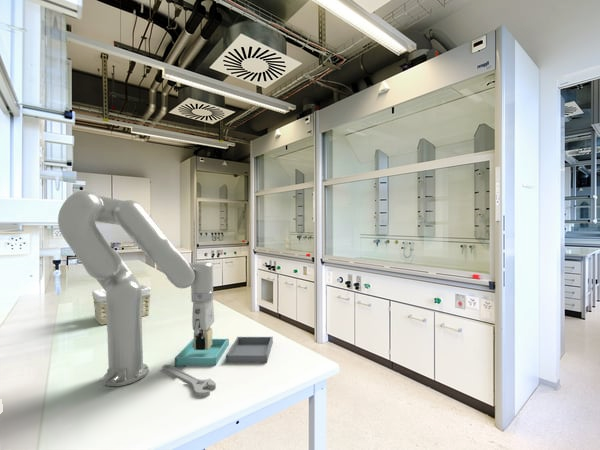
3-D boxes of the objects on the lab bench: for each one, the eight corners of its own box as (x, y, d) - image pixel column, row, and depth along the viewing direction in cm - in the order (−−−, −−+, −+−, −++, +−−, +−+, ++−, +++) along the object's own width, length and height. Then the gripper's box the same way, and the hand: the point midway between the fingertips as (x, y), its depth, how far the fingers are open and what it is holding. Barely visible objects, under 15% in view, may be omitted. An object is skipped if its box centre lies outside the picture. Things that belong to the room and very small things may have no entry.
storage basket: (143, 308, 167) (142, 282, 167) (153, 315, 155) (152, 287, 155) (92, 319, 151) (91, 290, 150) (98, 327, 139) (97, 296, 139)
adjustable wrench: (160, 371, 100) (160, 366, 100) (178, 364, 104) (178, 359, 104) (201, 400, 83) (200, 394, 83) (220, 390, 88) (220, 384, 88)
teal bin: (215, 366, 101) (215, 358, 101) (174, 366, 101) (174, 358, 101) (228, 346, 117) (228, 338, 117) (193, 346, 117) (193, 338, 117)
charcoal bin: (267, 364, 102) (266, 355, 102) (226, 364, 103) (226, 355, 103) (272, 344, 118) (272, 336, 118) (237, 344, 119) (237, 336, 119)
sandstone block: (207, 350, 106) (207, 333, 106) (194, 350, 107) (193, 333, 106) (212, 344, 111) (212, 328, 111) (199, 344, 112) (198, 328, 111)
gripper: (204, 303, 100) (205, 356, 100) (219, 290, 117) (220, 336, 117) (182, 303, 100) (183, 356, 101) (200, 290, 117) (201, 336, 118)
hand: (203, 345), depth 109 cm, fingers closed on sandstone block, 4 cm apart
